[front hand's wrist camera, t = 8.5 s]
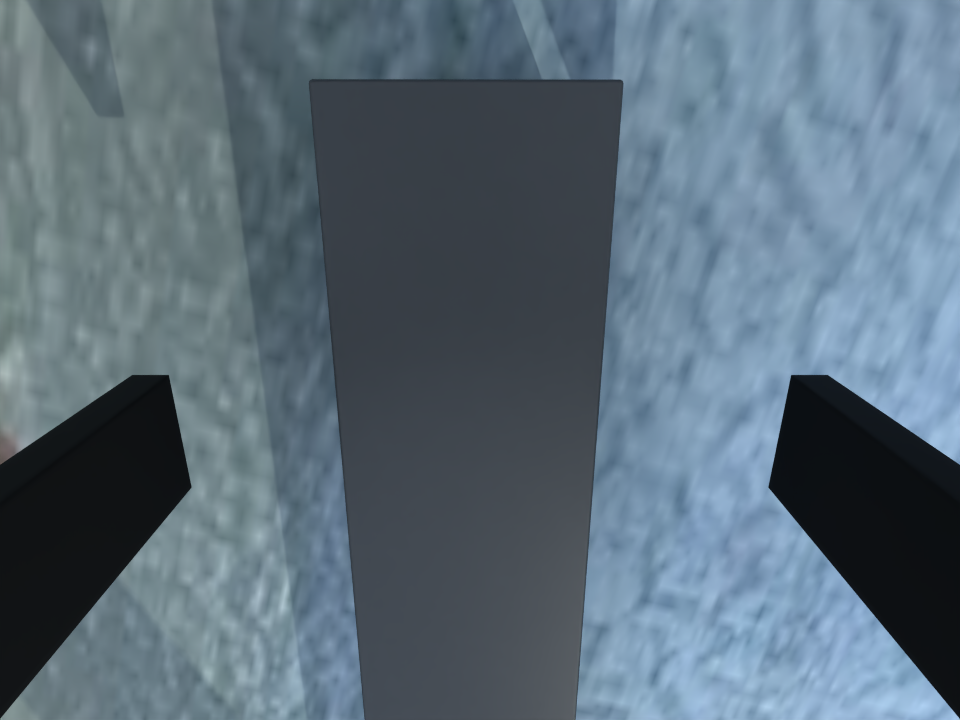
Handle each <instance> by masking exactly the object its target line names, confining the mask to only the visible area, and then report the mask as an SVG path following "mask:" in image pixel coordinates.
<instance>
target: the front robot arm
mask: <svg viewBox="0 0 960 720" xmlns="http://www.w3.org/2000/svg"><path fill="white" fill-rule="evenodd" d="M190 489H191V482H190V477H189V472H188V468H187V463H186V458H185V453H184V448H183V443H182V438H181V433H180V428H179V423H178V418H177V413H176V409H175V404H174V399H173V394H172V389H171V384H170V379H169V375H132V376H130V377H129V378H127V379H126V380H124V381H123V382H121V383H120V384H119V385H117V386H116V387H114V388H113V389H111V390H110V391H108V392H107V393H105V394H104V395H102V396H101V397H99V398H98V399H96V400H95V401H94V402H92V403H91V404H89V405H88V406H86V407H85V408H83V409H82V410H80V411H79V412H77V413H76V414H74V415H73V416H71V417H70V418H68V419H67V420H66V421H64V422H63V423H61V424H60V425H58V426H57V427H55V428H54V429H52V430H51V431H49V432H48V433H46V434H45V435H43V436H42V437H41V438H39V439H38V440H36V441H35V442H33V443H32V444H30V445H29V446H27V447H26V448H24V449H23V450H21V451H20V452H18V453H17V454H16V455H14V456H13V457H11V458H10V459H8V460H7V461H5V462H4V463H2V464H1V465H0V718H1V717H2V716H3V715H4V713H5V712H6V711H7V710H8V709H9V707H10V706H11V705H12V704H13V703H14V701H15V700H16V699H17V698H18V696H19V695H20V694H21V693H22V692H23V690H24V689H25V688H26V687H27V686H28V684H29V683H30V682H31V681H32V680H33V678H34V677H35V676H36V675H37V674H38V672H39V671H40V670H41V669H42V667H43V666H44V665H45V664H46V663H47V661H48V660H49V659H50V658H51V657H52V655H53V654H54V653H55V652H56V651H57V649H58V648H59V647H60V646H61V645H62V643H63V642H64V641H65V640H66V638H67V637H68V636H69V635H70V634H71V632H72V631H73V630H74V629H75V628H76V626H77V625H78V624H79V623H80V622H81V620H82V619H83V618H84V617H85V616H86V614H87V613H88V612H89V611H90V609H91V608H92V607H93V606H94V605H95V603H96V602H97V601H98V600H99V599H100V597H101V596H102V595H103V594H104V593H105V591H106V590H107V589H108V588H109V587H110V585H111V584H112V583H113V582H114V580H115V579H116V578H117V577H118V576H119V574H120V573H121V572H122V571H123V570H124V568H125V567H126V566H127V565H128V564H129V562H130V561H131V560H132V559H133V558H134V556H135V555H136V554H137V553H138V551H139V550H140V549H141V548H142V547H143V545H144V544H145V543H146V542H147V541H148V539H149V538H150V537H151V536H152V535H153V533H154V532H155V531H156V530H157V529H158V527H159V526H160V525H161V524H162V522H163V521H164V520H165V519H166V518H167V516H168V515H169V514H170V513H171V512H172V510H173V509H174V508H175V507H176V506H177V504H178V503H179V502H180V501H181V500H182V498H183V497H184V496H185V495H186V493H187V492H188V491H189V490H190ZM769 489H770V490H771V491H772V492H773V493H774V495H775V496H776V497H777V498H778V500H779V501H780V502H781V503H782V504H783V506H784V507H785V508H786V509H787V510H788V512H789V513H790V514H791V515H792V516H793V518H794V519H795V520H796V521H797V522H798V524H799V525H800V526H801V527H802V529H803V530H804V531H805V532H806V533H807V535H808V536H809V537H810V538H811V539H812V541H813V542H814V543H815V544H816V545H817V547H818V548H819V549H820V550H821V551H822V553H823V554H824V555H825V556H826V558H827V559H828V560H829V561H830V562H831V564H832V565H833V566H834V567H835V568H836V570H837V571H838V572H839V573H840V574H841V576H842V577H843V578H844V579H845V580H846V582H847V583H848V584H849V585H850V587H851V588H852V589H853V590H854V591H855V593H856V594H857V595H858V596H859V597H860V599H861V600H862V601H863V602H864V603H865V605H866V606H867V607H868V608H869V609H870V611H871V612H872V613H873V614H874V616H875V617H876V618H877V619H878V620H879V622H880V623H881V624H882V625H883V626H884V628H885V629H886V630H887V631H888V632H889V634H890V635H891V636H892V637H893V638H894V640H895V641H896V642H897V643H898V645H899V646H900V647H901V648H902V649H903V651H904V652H905V653H906V654H907V655H908V657H909V658H910V659H911V660H912V661H913V663H914V664H915V665H916V666H917V667H918V669H919V670H920V671H921V672H922V674H923V675H924V676H925V677H926V678H927V680H928V681H929V682H930V683H931V684H932V686H933V687H934V688H935V689H936V690H937V692H938V693H939V694H940V695H941V696H942V698H943V699H944V700H945V701H946V703H947V704H948V705H949V706H950V707H951V709H952V710H953V711H954V712H955V713H956V715H957V716H958V717H959V718H960V465H959V464H958V463H956V462H955V461H953V460H952V459H950V458H949V457H947V456H946V455H944V454H943V453H942V452H940V451H939V450H937V449H936V448H934V447H933V446H931V445H930V444H928V443H927V442H925V441H924V440H922V439H921V438H919V437H918V436H917V435H915V434H914V433H912V432H911V431H909V430H908V429H906V428H905V427H903V426H902V425H900V424H899V423H897V422H896V421H894V420H893V419H892V418H890V417H889V416H887V415H886V414H884V413H883V412H881V411H880V410H878V409H877V408H875V407H874V406H872V405H871V404H869V403H868V402H866V401H865V400H864V399H862V398H861V397H859V396H858V395H856V394H855V393H853V392H852V391H850V390H849V389H847V388H846V387H844V386H843V385H841V384H840V383H839V382H837V381H836V380H834V379H833V378H831V377H830V376H828V375H791V379H790V384H789V389H788V394H787V399H786V404H785V409H784V413H783V418H782V423H781V428H780V433H779V438H778V443H777V448H776V453H775V458H774V463H773V468H772V472H771V477H770V482H769Z"/></svg>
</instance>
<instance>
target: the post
mask: <svg viewBox="0 0 960 720" xmlns="http://www.w3.org/2000/svg"><path fill="white" fill-rule="evenodd" d="M309 90H310V101H311V113H312V124H313V136H314V147H315V158H316V170H317V181H318V193H319V204H320V215H321V227H322V238H323V250H324V261H325V272H326V284H327V295H328V307H329V318H330V329H331V341H332V352H333V364H334V375H335V387H336V398H337V409H338V421H339V432H340V444H341V455H342V466H343V478H344V489H345V501H346V512H347V523H348V535H349V546H350V558H351V569H352V580H353V592H354V603H355V615H356V626H357V638H358V649H359V660H360V672H361V683H362V695H363V706H364V717H365V720H575V719H576V705H577V692H578V679H579V666H580V652H581V639H582V626H583V613H584V599H585V586H586V573H587V559H588V546H589V533H590V520H591V506H592V493H593V480H594V467H595V453H596V440H597V427H598V414H599V400H600V387H601V374H602V360H603V347H604V334H605V321H606V307H607V294H608V281H609V268H610V254H611V241H612V228H613V214H614V201H615V188H616V175H617V161H618V148H619V135H620V122H621V108H622V95H623V81H622V80H407V79H312V80H310V81H309Z"/></svg>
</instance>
